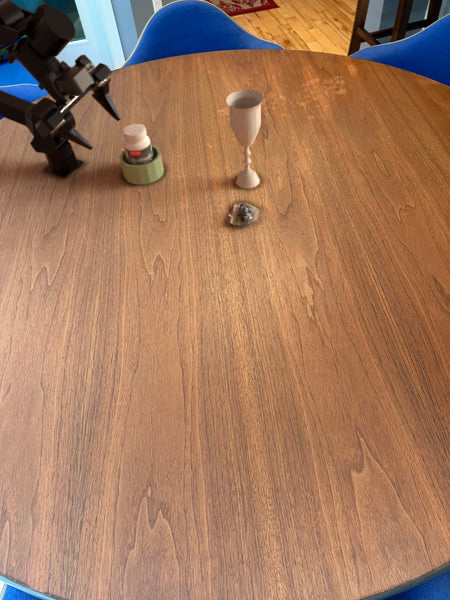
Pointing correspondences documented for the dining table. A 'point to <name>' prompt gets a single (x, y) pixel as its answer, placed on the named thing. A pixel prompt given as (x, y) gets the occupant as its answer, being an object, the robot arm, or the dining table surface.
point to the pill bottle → (137, 145)
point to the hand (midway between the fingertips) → (105, 134)
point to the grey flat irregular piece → (243, 214)
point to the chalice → (245, 129)
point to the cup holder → (143, 169)
